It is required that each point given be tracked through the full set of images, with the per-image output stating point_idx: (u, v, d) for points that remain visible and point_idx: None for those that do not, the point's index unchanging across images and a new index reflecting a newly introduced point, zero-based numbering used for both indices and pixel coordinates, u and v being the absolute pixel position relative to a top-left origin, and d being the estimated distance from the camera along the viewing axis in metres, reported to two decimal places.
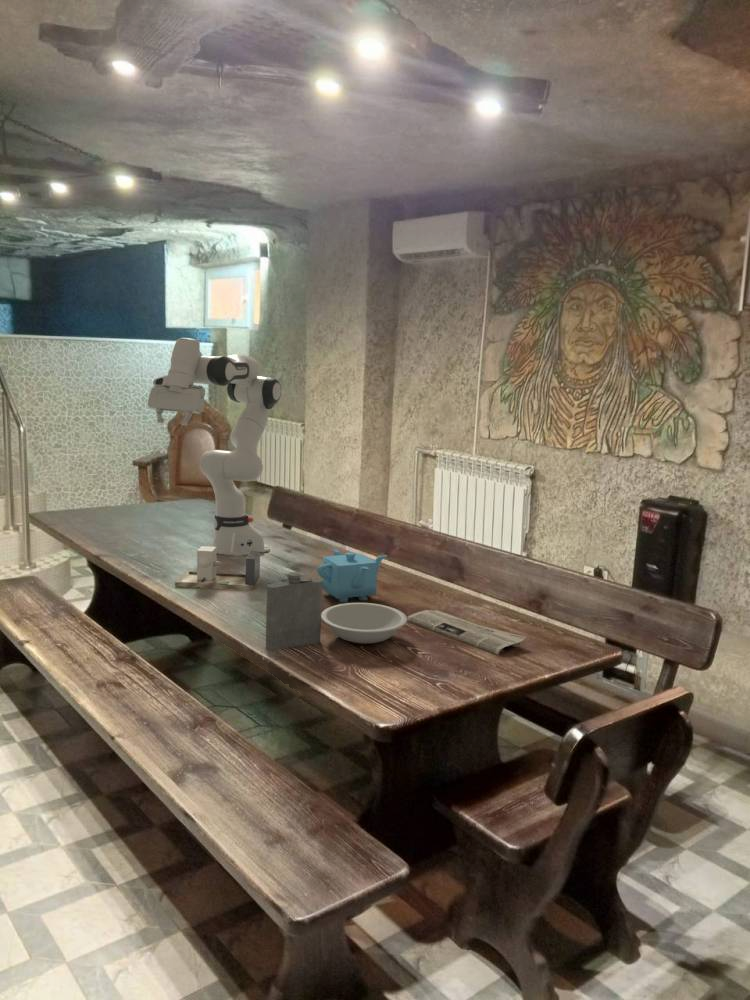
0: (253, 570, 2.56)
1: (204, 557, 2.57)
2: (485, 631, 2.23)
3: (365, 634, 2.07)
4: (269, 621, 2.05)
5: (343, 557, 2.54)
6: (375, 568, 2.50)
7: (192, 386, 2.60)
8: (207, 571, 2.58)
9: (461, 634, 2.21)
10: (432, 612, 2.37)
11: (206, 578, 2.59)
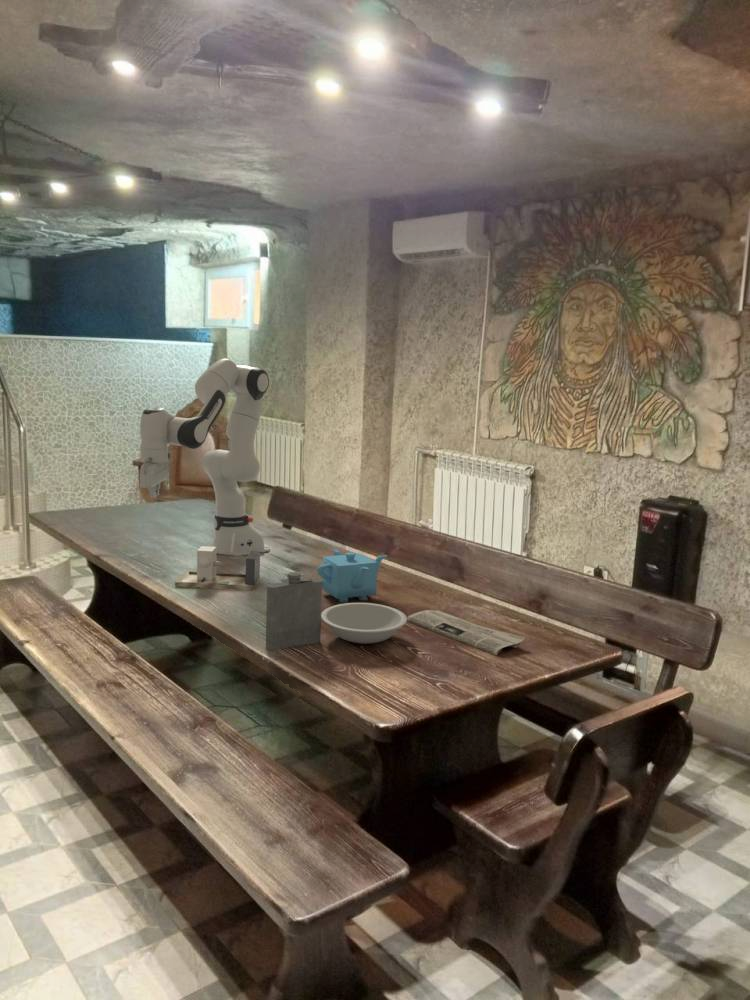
0: (253, 570, 2.56)
1: (204, 557, 2.57)
2: (484, 631, 2.22)
3: (365, 634, 2.07)
4: (269, 621, 2.05)
5: (343, 557, 2.54)
6: (375, 568, 2.50)
7: None
8: (207, 571, 2.58)
9: (460, 634, 2.21)
10: (432, 612, 2.37)
11: (206, 578, 2.59)
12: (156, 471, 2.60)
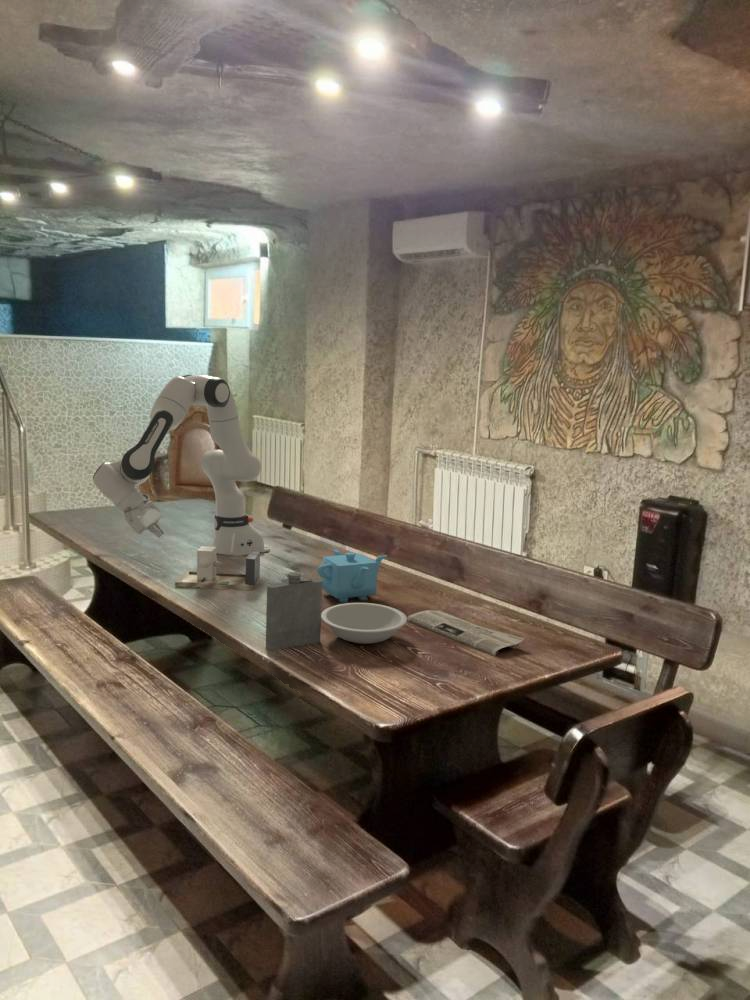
0: (253, 570, 2.56)
1: (204, 557, 2.57)
2: (484, 632, 2.22)
3: (365, 634, 2.07)
4: (269, 621, 2.05)
5: (343, 557, 2.54)
6: (375, 568, 2.50)
7: None
8: (207, 571, 2.58)
9: (459, 634, 2.21)
10: (433, 612, 2.37)
11: (206, 578, 2.59)
12: (143, 513, 2.56)
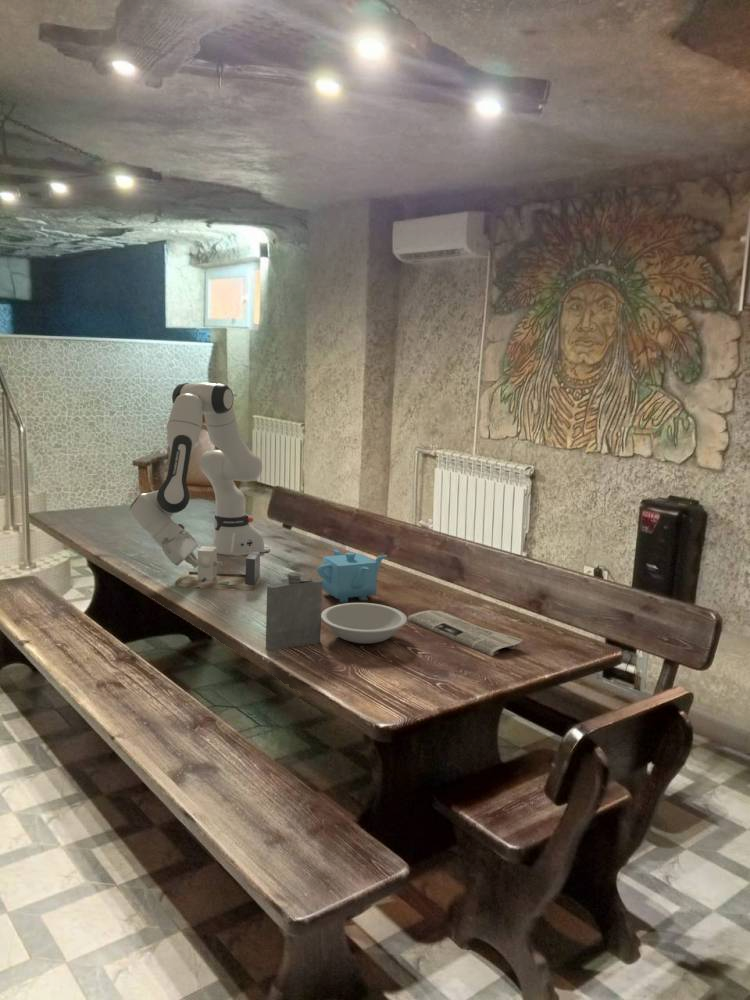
0: (253, 570, 2.56)
1: (205, 557, 2.57)
2: (483, 632, 2.21)
3: (365, 634, 2.07)
4: (269, 621, 2.05)
5: (343, 557, 2.54)
6: (375, 568, 2.50)
7: None
8: (207, 571, 2.58)
9: (458, 635, 2.20)
10: (434, 612, 2.37)
11: (207, 578, 2.59)
12: (180, 544, 2.57)
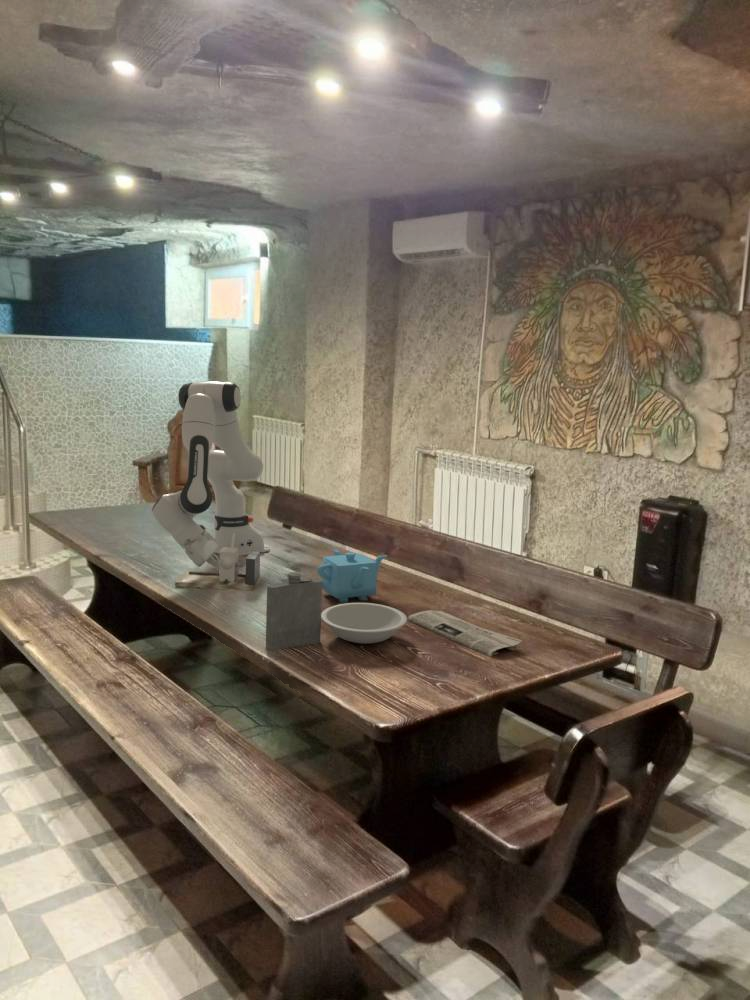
0: (253, 570, 2.56)
1: (226, 558, 2.57)
2: (482, 633, 2.21)
3: (365, 634, 2.07)
4: (269, 621, 2.05)
5: (343, 557, 2.54)
6: (375, 568, 2.50)
7: None
8: (229, 572, 2.58)
9: (457, 635, 2.20)
10: (434, 612, 2.37)
11: (228, 579, 2.59)
12: (201, 545, 2.57)
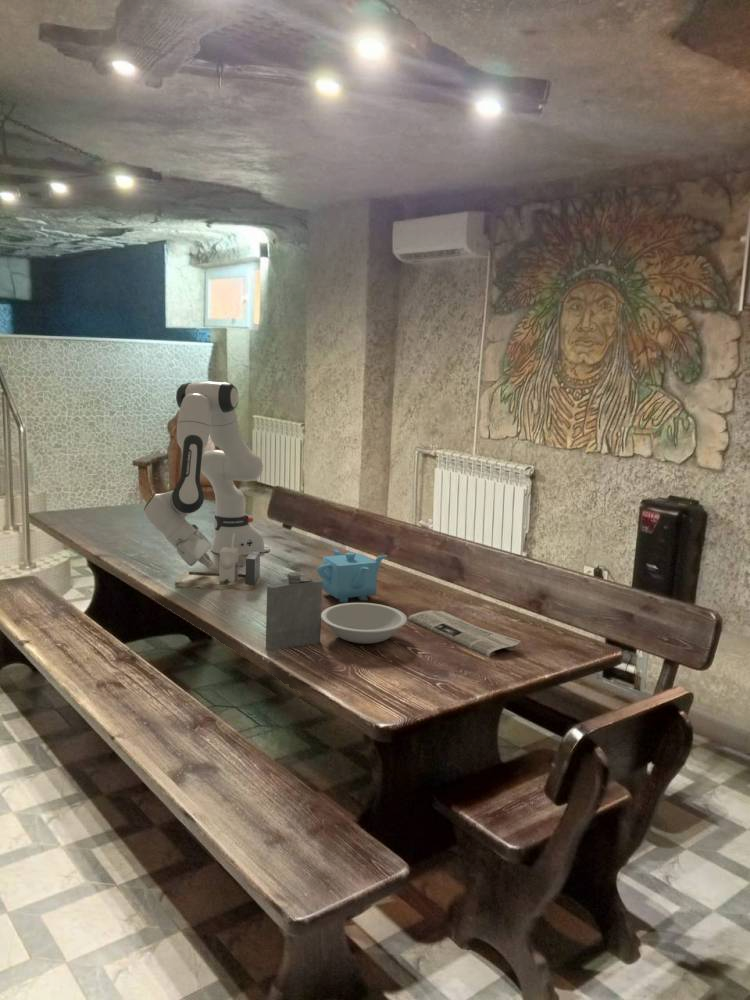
0: (253, 570, 2.56)
1: (227, 558, 2.57)
2: (482, 633, 2.21)
3: (365, 634, 2.07)
4: (269, 621, 2.05)
5: (343, 557, 2.54)
6: (375, 568, 2.50)
7: None
8: (229, 572, 2.58)
9: (457, 635, 2.20)
10: (435, 612, 2.37)
11: (228, 579, 2.59)
12: (193, 545, 2.57)
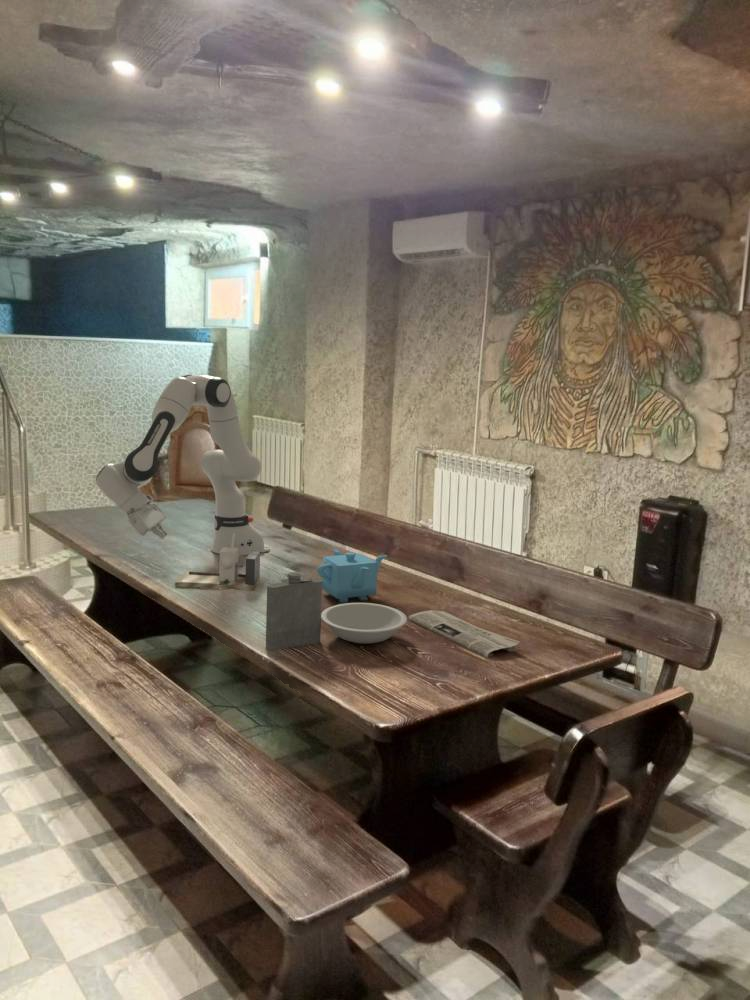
0: (253, 570, 2.56)
1: (227, 558, 2.57)
2: (481, 634, 2.20)
3: (365, 634, 2.07)
4: (269, 621, 2.05)
5: (343, 557, 2.54)
6: (375, 568, 2.50)
7: None
8: (229, 572, 2.58)
9: (456, 635, 2.20)
10: (436, 612, 2.37)
11: (228, 579, 2.59)
12: (146, 515, 2.56)
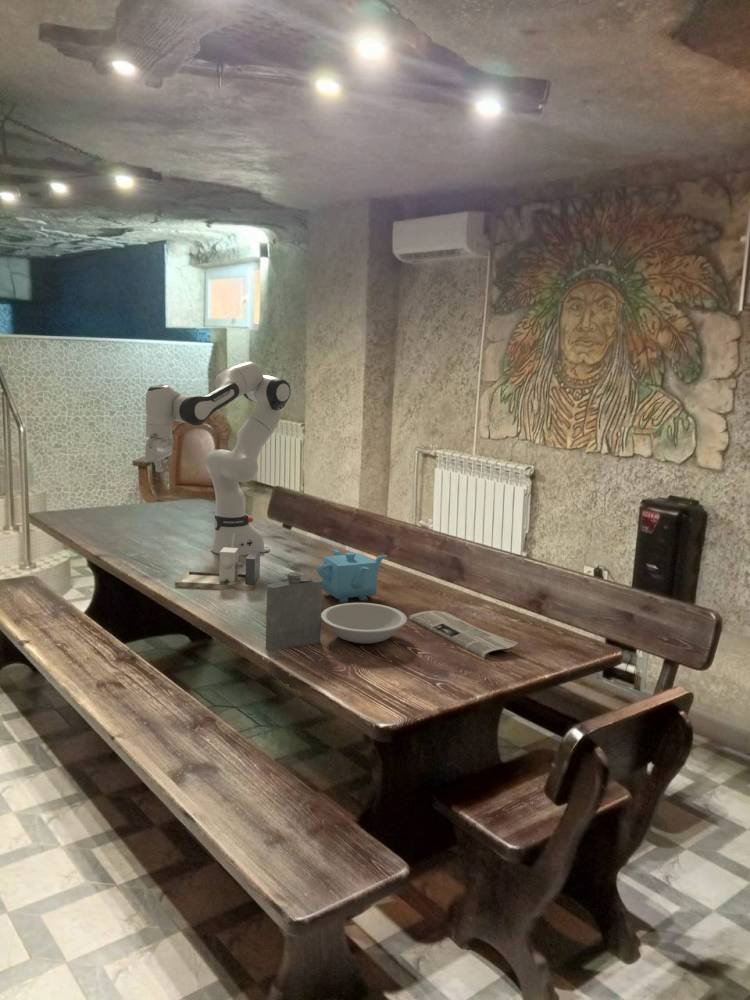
0: (253, 570, 2.56)
1: (227, 558, 2.57)
2: (480, 634, 2.20)
3: (365, 634, 2.07)
4: (269, 621, 2.05)
5: (343, 557, 2.54)
6: (375, 568, 2.50)
7: None
8: (229, 572, 2.58)
9: (454, 636, 2.19)
10: (437, 613, 2.37)
11: (228, 579, 2.59)
12: (161, 446, 2.69)
